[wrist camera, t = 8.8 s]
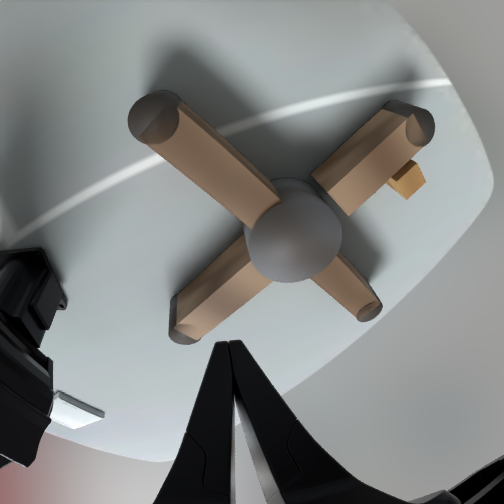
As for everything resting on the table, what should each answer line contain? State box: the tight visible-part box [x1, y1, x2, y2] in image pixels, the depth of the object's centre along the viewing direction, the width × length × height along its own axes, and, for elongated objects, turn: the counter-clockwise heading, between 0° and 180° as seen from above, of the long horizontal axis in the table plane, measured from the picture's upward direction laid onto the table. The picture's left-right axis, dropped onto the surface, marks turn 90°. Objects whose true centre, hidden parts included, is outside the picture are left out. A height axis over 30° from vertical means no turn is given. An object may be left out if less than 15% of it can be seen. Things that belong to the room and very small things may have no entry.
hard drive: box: [50, 392, 105, 429], centre depth 34 cm, size 2×8×12 cm
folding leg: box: [311, 100, 435, 216], centre depth 17 cm, size 9×3×3 cm, turn 135°
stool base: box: [128, 90, 426, 345], centre depth 20 cm, size 22×25×4 cm
